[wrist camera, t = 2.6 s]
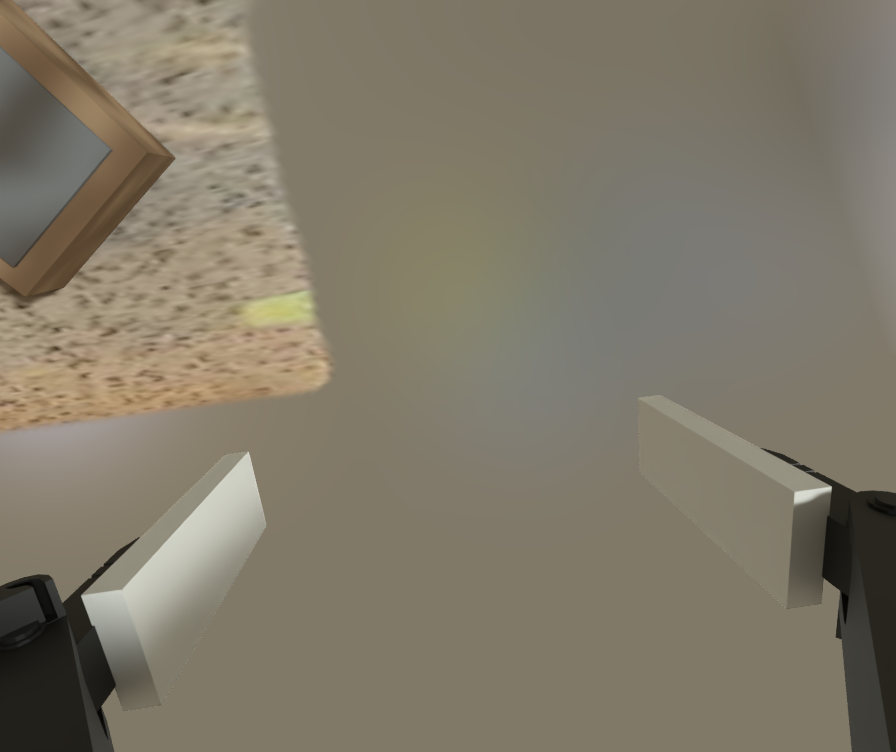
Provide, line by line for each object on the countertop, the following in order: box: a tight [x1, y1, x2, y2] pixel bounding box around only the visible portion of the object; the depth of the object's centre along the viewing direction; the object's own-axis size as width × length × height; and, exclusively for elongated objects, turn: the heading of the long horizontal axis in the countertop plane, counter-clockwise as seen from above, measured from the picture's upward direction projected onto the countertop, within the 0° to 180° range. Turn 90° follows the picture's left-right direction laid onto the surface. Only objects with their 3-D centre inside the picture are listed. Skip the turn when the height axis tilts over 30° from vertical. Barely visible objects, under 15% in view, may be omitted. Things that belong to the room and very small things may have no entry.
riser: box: [0, 0, 175, 297], centre depth 31 cm, size 14×14×4 cm
